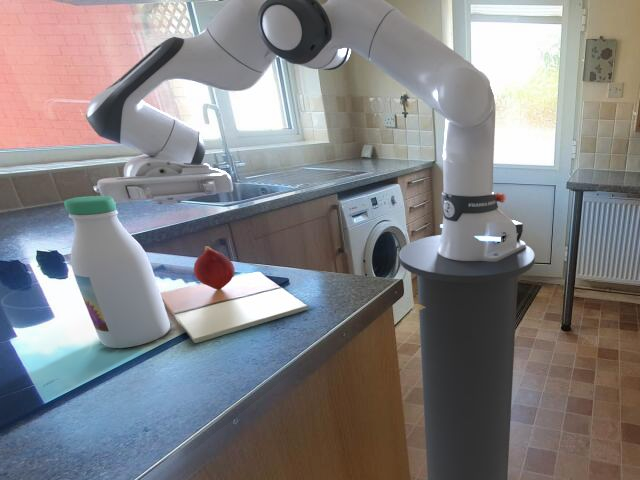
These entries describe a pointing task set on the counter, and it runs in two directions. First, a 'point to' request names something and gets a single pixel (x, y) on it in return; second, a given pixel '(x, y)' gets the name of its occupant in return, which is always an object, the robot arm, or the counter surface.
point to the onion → (213, 269)
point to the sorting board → (230, 306)
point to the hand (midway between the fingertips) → (179, 191)
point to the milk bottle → (114, 276)
